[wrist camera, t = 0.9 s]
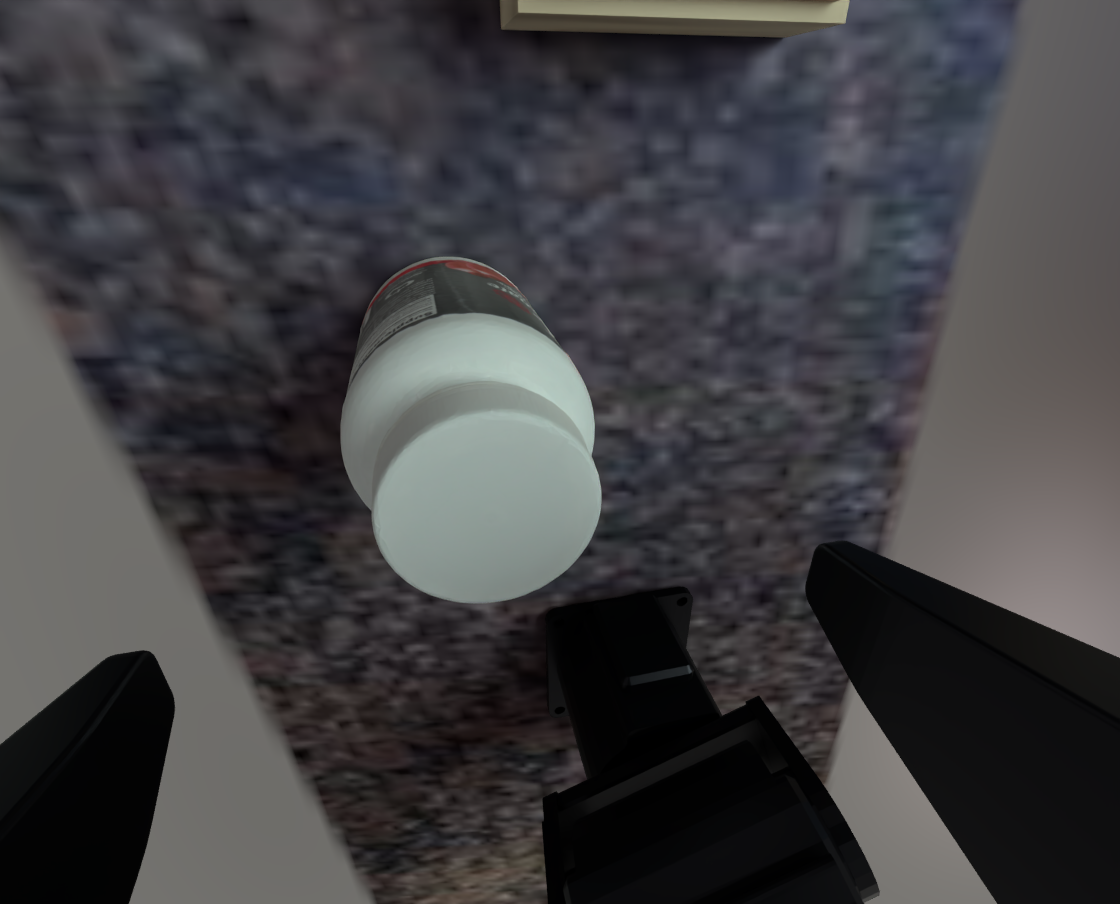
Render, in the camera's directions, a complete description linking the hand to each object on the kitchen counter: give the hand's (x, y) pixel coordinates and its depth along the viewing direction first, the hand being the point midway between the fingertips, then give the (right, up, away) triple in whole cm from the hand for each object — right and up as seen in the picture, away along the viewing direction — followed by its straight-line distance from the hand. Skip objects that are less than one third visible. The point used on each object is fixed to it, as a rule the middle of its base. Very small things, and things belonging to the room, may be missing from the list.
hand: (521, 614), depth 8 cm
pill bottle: (-3, +6, +10) cm, 12 cm away
